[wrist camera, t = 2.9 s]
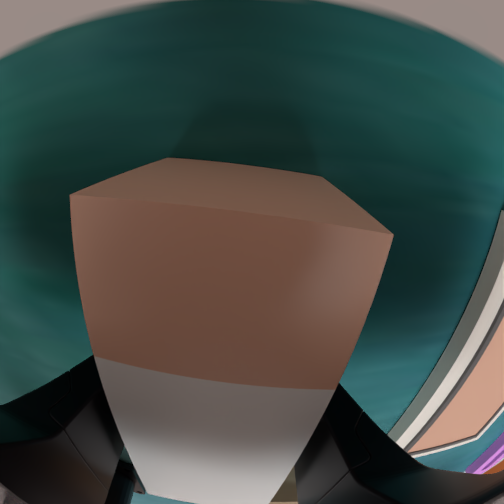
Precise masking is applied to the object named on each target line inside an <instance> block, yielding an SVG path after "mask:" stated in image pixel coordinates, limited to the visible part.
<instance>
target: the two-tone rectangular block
mask: <svg viewBox="0 0 504 504" xmlns="http://www.w3.org/2000/svg"><path fill="white" fill-rule="evenodd" d="M70 210H71V225H72V237H73V247H74V256H75V264H76V271H77V278H78V284H79V290H80V296H81V301H82V307H83V312H84V317H85V321H86V326H87V330H88V335H89V339H90V343H91V347H92V351H93V355H94V358H95V362H96V365H97V369H98V372H99V376H100V379H101V382H102V385H103V389H104V392H105V395H106V398H107V401H108V403H109V406H110V409H111V412H112V415H113V417H114V420H115V423H116V425H117V428H118V430H119V433H120V435H121V438H122V440H123V442H124V445H125V447H126V449H127V452H128V454H129V456H130V458H131V461H132V463H133V465H134V467H135V469H136V471H137V473H138V475H139V477H140V479H141V481H142V483H143V485H144V487H145V489H146V491H147V493H148V494H152V495H156V496H160V497H165V498H169V499H174V500H180V501H185V502H191V503H198V504H269V503H270V501H271V500H272V498H273V497H274V495H275V494H276V493H277V491H278V490H279V488H280V487H281V485H282V484H283V482H284V480H285V479H286V477H287V476H288V474H289V473H290V471H291V469H292V468H293V466H294V465H295V463H296V461H297V460H298V458H299V456H300V455H301V453H302V451H303V450H304V448H305V446H306V445H307V443H308V441H309V439H310V437H311V436H312V434H313V432H314V430H315V428H316V427H317V425H318V423H319V421H320V419H321V417H322V415H323V413H324V412H325V410H326V408H327V406H328V404H329V402H330V400H331V398H332V396H333V394H334V392H335V390H336V387H337V385H338V383H339V381H340V379H341V377H342V375H343V373H344V370H345V368H346V366H347V364H348V361H349V359H350V357H351V355H352V352H353V350H354V348H355V345H356V343H357V340H358V338H359V335H360V333H361V330H362V328H363V325H364V323H365V320H366V318H367V315H368V312H369V310H370V307H371V304H372V302H373V299H374V296H375V293H376V290H377V287H378V284H379V281H380V278H381V275H382V272H383V269H384V266H385V263H386V260H387V257H388V253H389V250H390V247H391V243H392V240H393V236H394V234H392V233H391V232H390V231H389V230H388V229H387V228H385V227H384V226H383V225H382V224H381V223H380V222H378V221H377V220H376V219H375V218H374V217H372V216H371V215H370V214H369V213H368V212H366V211H365V210H364V209H363V208H361V207H360V206H359V205H358V204H357V203H355V202H354V201H353V200H351V199H350V198H349V197H348V196H346V195H345V194H344V193H343V192H341V191H340V190H339V189H337V188H336V187H335V186H334V185H332V184H331V183H330V182H328V181H327V180H326V179H324V178H323V177H321V176H316V175H310V174H304V173H298V172H292V171H285V170H279V169H272V168H265V167H258V166H250V165H242V164H233V163H225V162H215V161H205V160H194V159H182V158H165V159H162V160H159V161H156V162H153V163H150V164H147V165H144V166H141V167H138V168H136V169H133V170H130V171H127V172H125V173H122V174H119V175H117V176H114V177H111V178H109V179H106V180H104V181H101V182H99V183H96V184H94V185H91V186H89V187H87V188H84V189H82V190H80V191H77V192H75V193H73V194H70Z"/></svg>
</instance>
